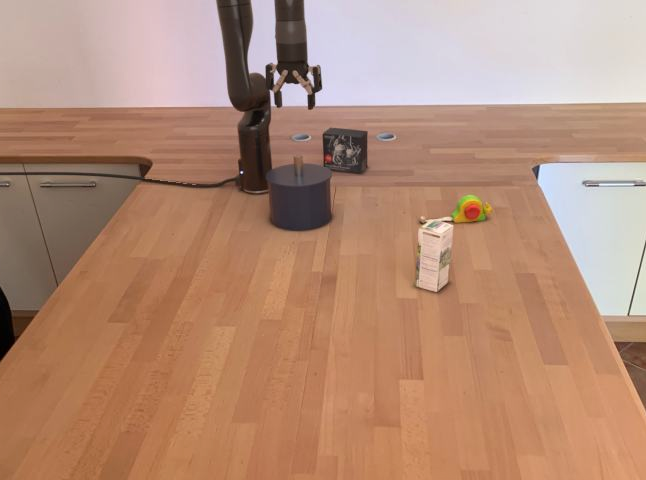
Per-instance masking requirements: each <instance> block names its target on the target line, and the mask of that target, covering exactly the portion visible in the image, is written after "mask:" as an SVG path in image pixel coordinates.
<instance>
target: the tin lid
mask: <svg viewBox="0 0 646 480" xmlns="http://www.w3.org/2000/svg"><path fill="white" fill-rule="evenodd" d="M332 177H333V172H332V170H330V169H328V168H327V167H324V165H322V164H317V163H316V164H315V163H306V162H305V163H304V157H303V154H299V153H298V154H294V155H293V163H290V164H284V165H279V166H276V167H274V168H272V170H270V171H269V172H268V173H267V174H266V179H267V181H268V182H269V183H271V184H273V185H275V186H279V187H286V188H305V187H312V186H317V185H320V184H323V183H325V182H327V181H329V180H330V181H331V179H332Z"/></svg>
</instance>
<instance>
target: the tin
mask: <svg viewBox="0 0 646 480" xmlns="http://www.w3.org/2000/svg"><path fill="white" fill-rule="evenodd" d="M267 193H268V202H269V203H268V204H269V215H270V216H269V217H270V222H271V224H272V225H273V226H275V227H277V228H278V229H282V230H287V231H298V232H299V231H310V230H315V229H319V228H321V227H324V226H326V225H327V224H329V222H330V221H331V220H332V200H331V179H330V180H329V181H327V182H325V183H323V184H320V185H317V186H312V187H305V188H286V187H279V186H275V185H273V184H271V183H269V182H268V192H267Z"/></svg>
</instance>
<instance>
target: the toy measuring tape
mask: <svg viewBox="0 0 646 480" xmlns="http://www.w3.org/2000/svg"><path fill="white" fill-rule="evenodd" d="M492 213H493V208H492V206H491V205H490V204H489V202H485V203H484V204H483V202H482V201H481V199H480V198H479V197H478V196H476V195H475V194H467V195H464V196H462V197H461V198H460V199H459V201H458V202H457V205H456V207H455V209H454V211H453V212H452V213H451V215H450V216H444V217H440V218H431V219H426V217H425V216H424V215H421V216H419V220H420V222H421V223H422V224H425V223H427V222H429V221H430V220H437V221H442V222H445V221H448V222H449V221H450V222H451V221H452V222H453V223H454V224H457V223H458V224H459V223H471V222H476V221H478V222H479V221H485V220H486V216H485V215H490V214H492Z"/></svg>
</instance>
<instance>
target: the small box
mask: <svg viewBox="0 0 646 480" xmlns="http://www.w3.org/2000/svg"><path fill="white" fill-rule="evenodd" d="M368 132H369V131H368V130H360V129H351V128H341V127H328V129H326V130H325V131H323V132H322V155H323V156H322V157H323V159H322V160H323V161H322V162H323V166H324V167H327V168H328V169H330V170H331V172H332V171H333V172H341V173H342V172H343V173H350V174H359V175H360V174H363V173H364V171H366V169H368Z"/></svg>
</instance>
